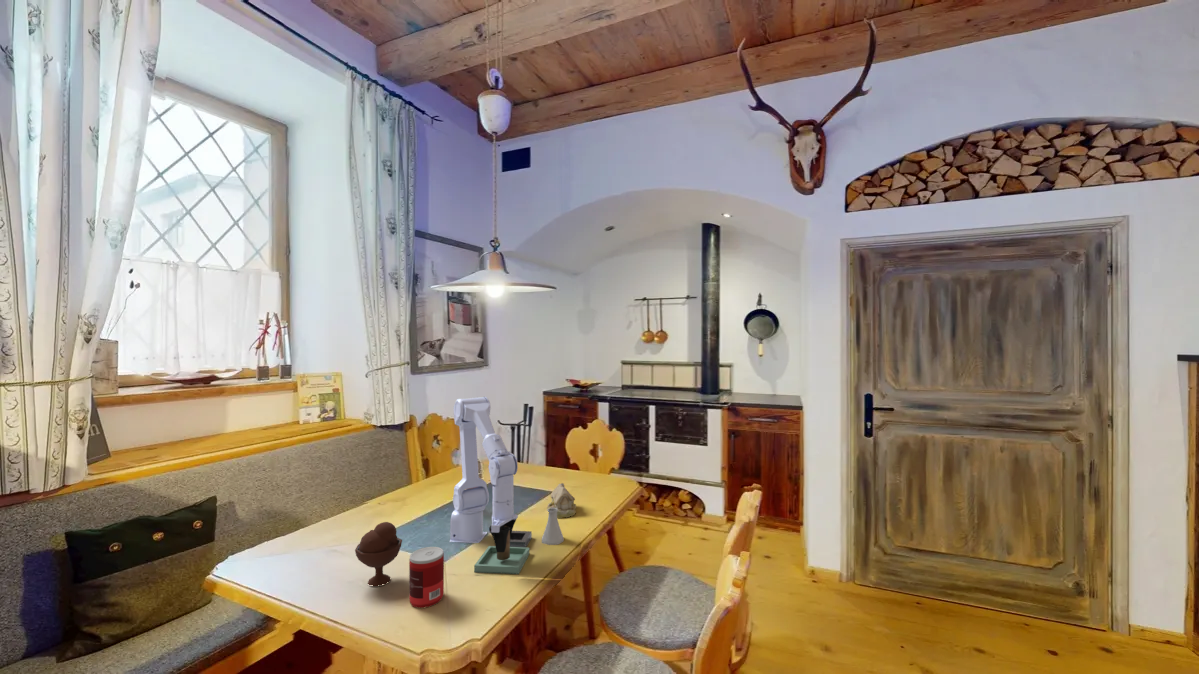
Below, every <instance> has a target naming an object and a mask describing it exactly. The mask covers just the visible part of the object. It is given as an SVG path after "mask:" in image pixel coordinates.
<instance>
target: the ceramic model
mask: <svg viewBox="0 0 1199 674" xmlns="http://www.w3.org/2000/svg"><path fill="white" fill-rule="evenodd" d="M550 498H551V502H549V503H548V504H547V507H546V512H547V511H548V509H549V508H558V512H557V519H563V518H562V517H566V518H569V517H570V516H571V517H574V516H575V513H576V512H577V511H576V510H577V504H576V503H575V501H576V498H575V497H574V496H573V495H572V494H571V493H570V492H569V491H568V490H567V489H566V487H565V484H564V483H563V482H562V483H558V484H557V486H556V487H555V488H554V489H553V490H552V492H551V494H550Z"/></svg>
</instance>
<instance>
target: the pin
mask: <svg viewBox="0 0 1199 674" xmlns="http://www.w3.org/2000/svg"><path fill="white" fill-rule="evenodd" d="M505 527H509V526H505ZM509 557H510V530H509V533H508V536H507V543H506V549H505V552H497V559H498V560H506V559H508V558H509Z"/></svg>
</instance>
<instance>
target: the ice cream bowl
mask: <svg viewBox="0 0 1199 674" xmlns="http://www.w3.org/2000/svg"><path fill="white" fill-rule="evenodd" d="M397 533H398V532H397V528H396V526H395V525H394V524H392V523H391V522H389V521H384V522H381V523H379V524H377V525H376V526H375V527H374V529H370V530H369V531H368V532H366V533H365V534H364V535H363V536H362V537H361V540H360V542H359V543H358V544H357V546H356V547H355V549H354V551H355V556H356V557H357V559H358V561H360V563H362V564H364V565H365V566H366V567H369V568H374V569H375V570H374V571H375V574H374V575H373V576H372V577H371V578H369V579H368V581H367V584H369V585H373V586H378V585H382V584H386V583H387V582H389V581H390V582H391V580H390V578H391V576H390V575H388V574H385V573H384V567H385V566H386V565H388V564H390V563H391V562H393V561H394V560H395V558H397V557H398V555H399V553H400V550H401V547H402V544H403V539H401V538H399V537H398V536H397ZM390 582H389V583H390ZM387 584H388V583H387ZM387 584H386V585H387Z"/></svg>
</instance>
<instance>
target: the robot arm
mask: <svg viewBox="0 0 1199 674" xmlns="http://www.w3.org/2000/svg"><path fill="white" fill-rule="evenodd" d="M453 415H454V416H453V420H454V425H456V426H458V427H459V438H460V439H459V440H460V442H459V443H460V457H461V474H462V478H461V479H460V481H459V482H458V483H456V484H455V486H453V487H454V488H453V497H452V503H453V507H454V510H453V511H452V512H451V516H450V536H449V539H450V540H449V543H466V544H467V543H468V544H469V543H470V544H473V543H474V544H480V543H481V541H482V540H483V539H484V538H485V537H486V536H487V534H488V532H487V531H484V510H486V507H487V506H488V503H489V501H490V493H489V490H488V485H487V482H486V481H485V480H484V479H482V478H481V477H480V476H479V459H478V444H477V443H478V442H477V430H478V432H479V433H480V435H481V437H482V439H483V441H482V443H481V446H482V448H483V450H484V453H485V455H486V457H487V460H488V463H489V464H488V472H489V477H490V483H491V485H492V514H491V525H490V526H489V527H488V528H489V529H488V531H489V533H490V534H491V536H492V539H493V542H494V546H496V550H497V552H505V549H506V543H507V536H508V533H509V530H510V538H511V533H512V531H513V529H514V525H515V524H516V521H517V518H518V517H519V516H518V514H516V513H515V512H514V510H515V509H514V508H515V507H514V483H515V482H514V475H516V474H517V472H518V468H519V467H518V465H519V464H518V460H517V458H516V455H515V454H513V453H512V452H511V451H508V449H507V447H506V445H505V442H504V440H503V438H502V437H501V435H500V434H498V433H496V432H495V429H494V425H493V423H492V420H491V417H490V415H491V402H490V400H489V398H488V397H487V396H482V397H469V398H457V399H456V400H455V402H454V405H453ZM505 526H509V527H505Z"/></svg>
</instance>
